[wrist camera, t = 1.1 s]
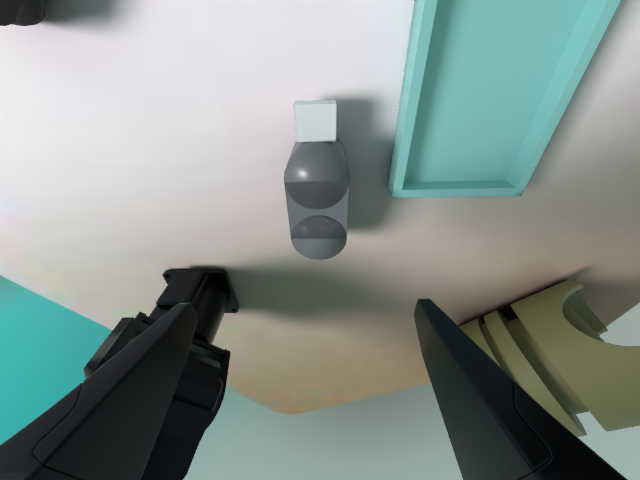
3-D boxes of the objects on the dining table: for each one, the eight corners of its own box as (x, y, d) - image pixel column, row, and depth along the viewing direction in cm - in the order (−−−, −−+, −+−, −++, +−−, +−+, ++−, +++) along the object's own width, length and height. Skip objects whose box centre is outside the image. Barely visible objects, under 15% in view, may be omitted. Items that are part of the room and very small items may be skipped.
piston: (586, 311, 28) (710, 431, 19) (482, 349, 33) (541, 458, 24) (555, 258, 24) (697, 383, 15) (440, 312, 29) (492, 429, 20)
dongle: (342, 229, 22) (345, 259, 19) (298, 230, 22) (293, 259, 19) (347, 96, 16) (352, 107, 13) (285, 98, 16) (275, 109, 13)
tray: (506, 185, 19) (521, 195, 18) (387, 187, 19) (392, 197, 18) (665, -163, 10) (722, -200, 9) (436, -149, 10) (455, -182, 9)
